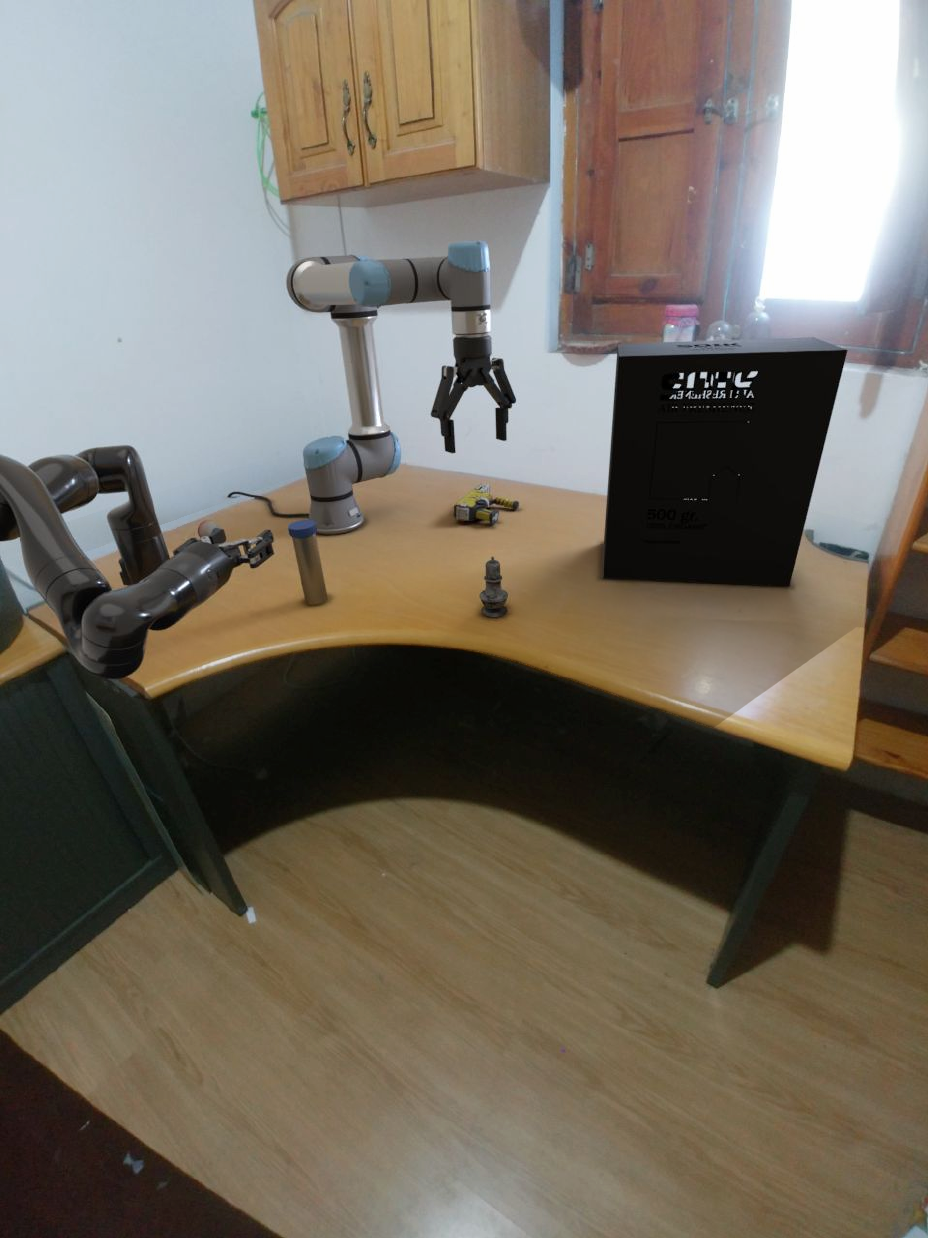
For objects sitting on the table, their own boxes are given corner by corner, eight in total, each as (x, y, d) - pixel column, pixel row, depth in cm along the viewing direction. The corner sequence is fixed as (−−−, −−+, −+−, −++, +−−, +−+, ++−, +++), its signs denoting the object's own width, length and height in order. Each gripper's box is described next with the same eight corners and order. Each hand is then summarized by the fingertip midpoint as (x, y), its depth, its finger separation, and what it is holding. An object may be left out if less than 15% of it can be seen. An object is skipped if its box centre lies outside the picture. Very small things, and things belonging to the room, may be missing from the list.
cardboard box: (767, 547, 142) (813, 337, 119) (789, 586, 125) (847, 349, 102) (603, 542, 149) (617, 343, 127) (603, 578, 132) (618, 356, 110)
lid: (309, 525, 126) (307, 517, 125) (322, 532, 122) (320, 524, 121) (284, 533, 123) (282, 524, 122) (297, 540, 119) (295, 531, 118)
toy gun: (527, 488, 179) (479, 481, 183) (505, 513, 159) (452, 504, 162) (525, 503, 181) (478, 496, 185) (503, 529, 161) (451, 520, 165)
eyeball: (211, 547, 159) (205, 526, 156) (196, 543, 162) (190, 522, 159) (229, 539, 163) (224, 518, 160) (214, 536, 166) (209, 515, 164)
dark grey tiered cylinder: (506, 618, 119) (505, 563, 113) (477, 616, 120) (474, 562, 114) (510, 604, 124) (509, 550, 118) (482, 602, 125) (480, 549, 119)
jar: (321, 593, 133) (307, 520, 125) (331, 600, 130) (318, 526, 122) (301, 600, 131) (286, 526, 122) (312, 607, 128) (296, 532, 119)
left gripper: (156, 598, 90) (214, 554, 104) (242, 601, 87) (290, 555, 101) (139, 552, 86) (202, 512, 100) (229, 554, 84) (281, 513, 97)
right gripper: (429, 342, 108) (437, 460, 118) (533, 329, 120) (532, 437, 131) (407, 340, 113) (417, 454, 124) (508, 328, 125) (510, 432, 136)
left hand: (246, 534), depth 101 cm, fingers open, 8 cm apart
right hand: (476, 445), depth 127 cm, fingers open, 13 cm apart
